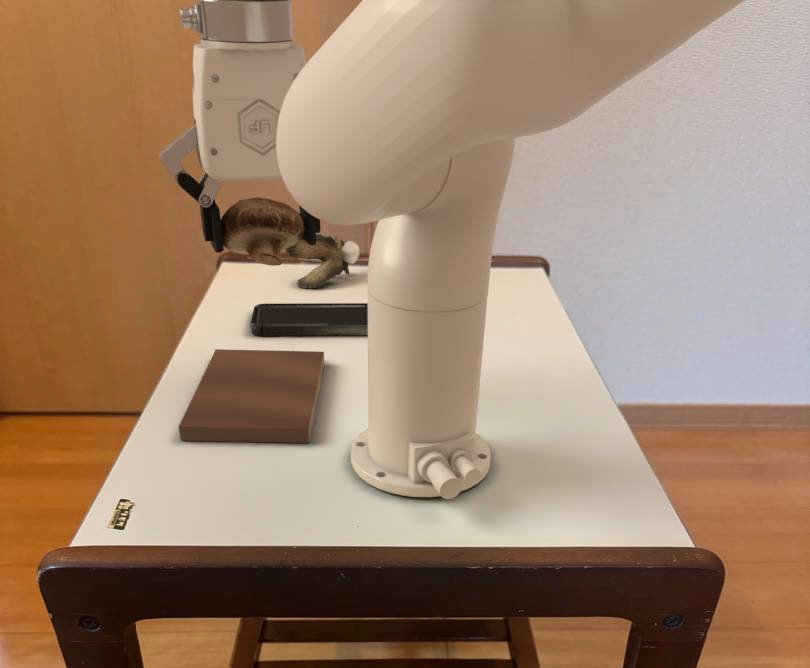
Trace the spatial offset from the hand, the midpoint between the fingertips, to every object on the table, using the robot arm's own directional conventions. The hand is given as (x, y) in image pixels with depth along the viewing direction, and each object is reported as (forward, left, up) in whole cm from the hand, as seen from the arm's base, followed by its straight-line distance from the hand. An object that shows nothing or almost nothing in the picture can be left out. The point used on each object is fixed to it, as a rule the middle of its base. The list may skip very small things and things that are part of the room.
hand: (263, 244), depth 75 cm
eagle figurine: (+31, -15, -15) cm, 38 cm away
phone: (+15, -9, -15) cm, 23 cm away
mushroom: (0, 0, -2) cm, 2 cm away
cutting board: (-3, +2, -15) cm, 15 cm away
